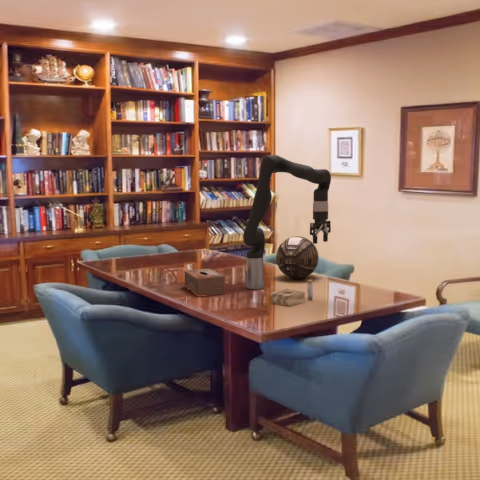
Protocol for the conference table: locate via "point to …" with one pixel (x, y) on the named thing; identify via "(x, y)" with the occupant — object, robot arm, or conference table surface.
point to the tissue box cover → (204, 282)
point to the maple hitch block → (287, 297)
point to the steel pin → (310, 289)
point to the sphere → (297, 257)
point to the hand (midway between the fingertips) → (320, 242)
